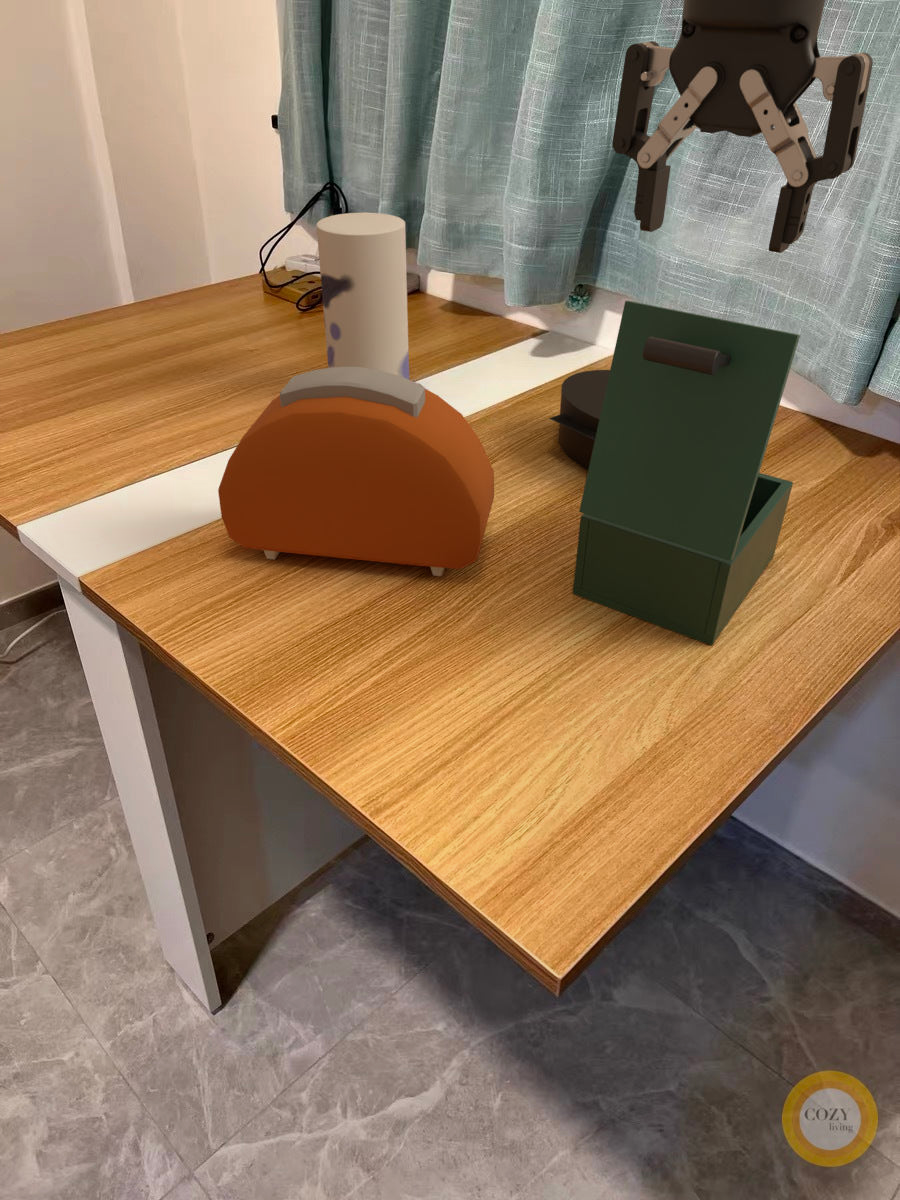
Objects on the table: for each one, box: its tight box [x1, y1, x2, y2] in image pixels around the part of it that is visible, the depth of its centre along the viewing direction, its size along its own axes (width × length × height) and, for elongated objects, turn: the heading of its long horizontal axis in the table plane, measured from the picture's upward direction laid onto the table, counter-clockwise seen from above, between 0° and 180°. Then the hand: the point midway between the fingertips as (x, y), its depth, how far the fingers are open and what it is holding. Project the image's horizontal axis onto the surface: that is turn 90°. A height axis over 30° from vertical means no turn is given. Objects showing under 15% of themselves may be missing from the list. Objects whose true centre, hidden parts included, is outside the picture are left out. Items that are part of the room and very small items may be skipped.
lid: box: [578, 300, 801, 561], centre depth 64 cm, size 16×13×5 cm
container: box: [316, 212, 410, 380], centre depth 106 cm, size 10×10×20 cm
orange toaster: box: [217, 367, 495, 577], centre depth 78 cm, size 23×9×17 cm, turn 80°
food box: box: [572, 472, 794, 646], centre depth 77 cm, size 16×13×8 cm
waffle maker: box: [548, 369, 610, 471], centre depth 96 cm, size 14×18×8 cm
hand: (713, 239), depth 57 cm, fingers open, 8 cm apart
